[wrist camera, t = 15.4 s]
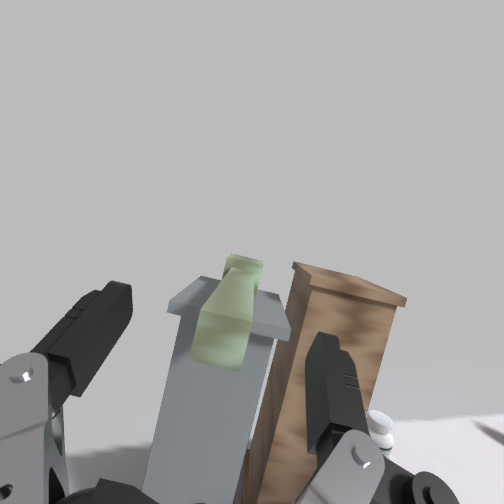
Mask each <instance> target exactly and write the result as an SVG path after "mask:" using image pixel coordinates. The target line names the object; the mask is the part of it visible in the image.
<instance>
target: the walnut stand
mask: <svg viewBox="0 0 504 504" xmlns="http://www.w3.org/2000/svg"><path fill="white" fill-rule="evenodd" d="M292 268H293V269H294V270H295V274H294V278H293V282H292V286H291V290H290V293H289V298H288V302H287V305H286V309H285V314H286V317H287V319H288V322H289V325H290V328H291V332H290V336H289V340H288V341H284V340H280V339H278V341H277V345H276V349H275V353H274V357H273V362H272V365H271V369H270V372H269V377H268V380H267V385H266V388H265V393H264V397H263V400H262V404H261V408H260V412H259V416H258V420H257V424H256V428H255V432H254V436H253V440H252V444H251V448H250V449H246V452H245V459H244V479H243V498H242V504H292V503H293V501H294V500H295V498H296V497H297V495H298V494H299V492H300V491H301V489H302V488H303V486H304V485H305V483H306V482H307V480H308V479H309V478H310V476H311V475H312V473H313V472H314V470H315V469H316V467H317V456H316V455H312V454H308V453H307V428H306V395H305V360H306V356H307V353H308V351H309V349H310V347H311V345H312V343H313V341H314V339H315V337H316V335H317V333H318V332H319V331H320V332H325V333H329V334H333V335H337V336H338V338H339V344H340V350H343V351H348V353H349V354H350V356H351V358H352V360H353V361H354V363H355V366H356V371H357V376H358V377H357V379H358V381H359V386H360V388H359V390H360V391H361V396H362V401H363V406H364V410H365V415H366V414H367V411H368V407H369V403H370V400H371V397H372V393H373V389H374V386H375V382H376V379H377V375H378V372H379V368H380V365H381V361H382V357H383V354H384V350H385V347H386V343H387V340H388V336H389V332H390V329H391V325H392V322H393V318H394V315H395V311H396V308H397V306H401V307H405V304H406V300H407V298H406V297H403V296H401V295H399V294H396V293H394V292H392V291H389V290H387V289H385V288H382V287H380V286H378V285H375V284H373V283H370V282H368V281H366V280H364V279H361V278H359V277H356V276H352V275H348V274H344V273H340V272H335V271H331V270H327V269H323V268H319V267H314V266H311V265H306V264H302V263H298V262H293V266H292Z"/></svg>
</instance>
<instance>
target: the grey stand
mask: <svg viewBox="0 0 504 504" xmlns="http://www.w3.org/2000/svg"><path fill="white" fill-rule="evenodd" d="M220 282H221V280H216V279H212V278H208V277H204V276H200V277H199V278H198V279H197V280H195V281H194V282H193V283H192V284H190V285H189V286H187V287H186V288H185V289H184V290H182V291H181V292H180V293H178V294H177V295H176V296H175V297H173V298H172V299H171V300H170V301H169V305H168V310H167V312H168V313H172V314H176V315H180V316H181V320H180V324H179V329H178V333H177V337H176V342H175V346H174V351H173V355H172V359H171V364H170V368H169V372H168V377H167V381H166V386H165V390H164V394H163V399H162V403H161V408H160V412H159V417H158V421H157V425H156V430H155V434H154V439H153V443H152V447H151V452H150V456H149V461H148V465H147V469H146V474H145V478H144V483H143V487H142V491H141V492H143V493H144V494H146V495H147V496H149V497H150V498H152V499H153V500H155V501H156V502H158V503H159V504H194V503H205V504H233V500H234V496H235V492H236V488H237V484H238V480H239V476H240V472H241V468H242V464H243V460H244V456H245V452H246V448H247V444H248V440H249V436H250V432H251V428H252V424H253V420H254V416H255V412H256V408H257V404H258V400H259V396H260V392H261V388H262V384H263V380H264V376H265V373H266V369H267V365H268V361H269V357H270V353H271V349H272V345H273V341H274V338H276V339H280V340H284V341H288V340H289V336H290V332H291V328H290V325H289V322H288V319H287V317H286V314H285V311H284V308H283V306H282V303H281V300H280V298H279V295H278V294H275V293H271V292H266V291H262V290H258V289H257V292H256V296H255V297H254V300H253V323H252V327H251V331H250V335H249V339H248V343H247V347H246V351H245V355H244V359H243V363H242V367H241V371H240V372H236V371H232V370H227V369H223V368H219V367H215V366H211V365H207V364H202V363H198V362H194V361H190V360H189V357H190V353H191V348H192V344H193V340H194V335H195V331H196V327H197V322H198V318H199V314H200V309H201V308H202V307H203V305H204V304H205V303H206V301H207V300H208V299H209V297H210V296H211V294H212V293H213V292H214V290H215V289H216V288H217V286H218V285H219V284H220Z"/></svg>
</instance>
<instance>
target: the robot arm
mask: <svg viewBox="0 0 504 504" xmlns="http://www.w3.org/2000/svg"><path fill="white" fill-rule="evenodd" d="M132 312H133V304H132V288H131V285H128V284H125V283H120V282H116V281H110V282H109V283H108V284H107V285H106V286H105V287H104V289H103V290H102V291H98V290H94V291H92V292H90V293H88V294H86V295H85V296H83V297H81V299H80V300H79V301H78V302H77V303H76V304H75V305H74V306H73V308H72V309H70V310H69V311H68V312H67V314H65V317H63V318H62V319H61V320H60V321H59V322H58V323H57V324H56V325H55V326H54V327H53V328H52V329H51V330H50V331H49V333H48V334H47V335H46V336H45V337H44V338H43V339H42V340H41V341H40V342H39V343H38V344H37V345H36V346H35V347H34V348H33V349H32V350H31V351H30V352H29V353H23V354H19V355H16V356H14V357H12V358H10V359H8V360H7V361H5V362H4V363H3V364H0V504H159V503H158V502H156V501H155V500H153V499H152V498H150V497H149V496H147V495H146V494H144V493H143V492H141V491H140V490H138V489H137V488H135V487H134V486H131V485H126V484H122V483H118V482H114V481H110V480H106V479H102V478H100V479H99V481H98V483H97V485H96V488H89V489H85V490H81V491H78V492H76V493H73V494H71V495H69V481H68V473H67V468H66V462H65V445H64V421H63V403H64V402H65V401H66V399H67V398H68V396H69V395H73V396H77V397H81V395H82V394H83V392H84V390H85V389H86V388H87V386H88V385H89V383H90V382H91V380H92V379H93V377H94V376H95V374H96V372H97V371H98V370H99V368H100V367H101V365H102V363H103V362H104V360H105V359H106V357H107V356H108V354H109V353H110V351H111V350H112V348H113V347H114V345H115V344H116V342H117V340H118V339H119V337H120V336H121V335H122V333H123V332H124V330H125V329H126V327H127V325H128V324H129V321H130V320H131V317H132ZM357 377H358V376H357V371H356V366H355V363H354V361H353V360H352V358H351V356H350V354H349V353H348V351H343V350H340V344H339V338H338V336H337V335H333V334H329V333H325V332H320V331H319V332H318V333H317V335H316V337H315V339H314V341H313V343H312V345H311V347H310V349H309V351H308V353H307V356H306V360H305V395H306V428H307V453H308V454H312V455H316V456H317V467H316V469H315V470H314V472H313V473H312V475H311V476H310V478H309V479H308V480H307V482H306V483H305V485H304V486H303V488H302V489H301V491H300V492H299V494H298V495H297V497H296V498H295V500H294V501H293V503H292V504H459V502H458V500H457V498H456V496H455V495H454V493H453V492H452V490H451V489H450V488H449V486H448V485H447V484H446V483H445V482H444V481H443V480H441V479H440V478H439V477H437V476H436V475H434V474H432V473H429V472H419V473H417V474H416V475H413V474H412V473H410V472H408V471H407V470H405V469H403V468H402V467H400V466H398V465H397V464H395V463H394V462H392V461H390V460H389V459H388V458H386V457H385V456H384V455H383V454H382V452H381V450H380V448H379V446H378V445H377V444H376V442H375V441H374V440H373V439H372V438H371V436H370V434H369V430H368V425H367V420H366V415H365V410H364V406H363V401H362V396H361V391H360V390H359V388H360V386H359V381H358V379H357ZM194 504H205V503H194Z"/></svg>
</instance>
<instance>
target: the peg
mask: <svg viewBox="0 0 504 504" xmlns="http://www.w3.org/2000/svg"><path fill="white" fill-rule="evenodd" d="M262 267H263V263H262V261H260V260H256V259H252V258H248V257H244V256H239V255H235V254H230V255H229V256H228V257H227V260H226V264H225V269H224V273H223V278H222V281H221V282H220V284H219V285H218V286H217V288H216V289H215V290H214V292H213V293H212V294H211V296H210V297H209V299H208V300H207V301H206V303H205V304H204V305H203V307H202V308H201V309H200V314H199V318H198V322H197V327H196V331H195V335H194V340H193V344H192V348H191V353H190V357H189V360H190V361H194V362H198V363H202V364H207V365H211V366H215V367H219V368H223V369H227V370H232V371H236V372H240V371H241V367H242V363H243V359H244V355H245V351H246V347H247V343H248V339H249V335H250V331H251V327H252V323H253V300H254V297H255V296H256V292H257V288H258V284H259V280H260V276H261V272H262Z"/></svg>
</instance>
